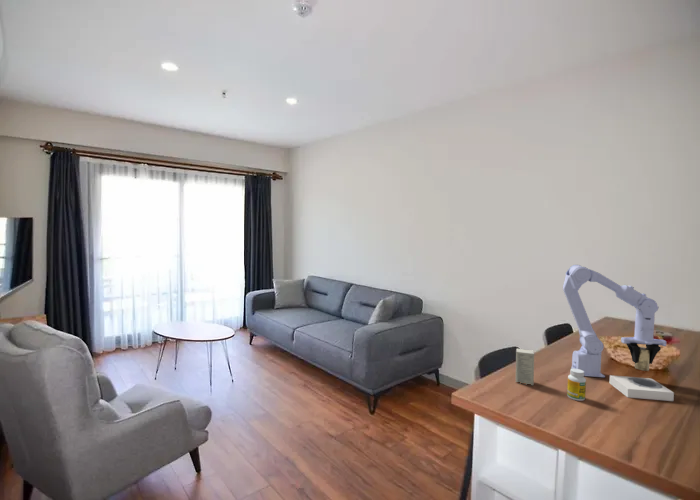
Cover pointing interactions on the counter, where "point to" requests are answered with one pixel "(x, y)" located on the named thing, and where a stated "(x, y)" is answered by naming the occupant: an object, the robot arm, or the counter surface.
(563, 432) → the counter surface
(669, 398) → the plate
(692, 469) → the counter surface
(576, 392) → the supplement bottle
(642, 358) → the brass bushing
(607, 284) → the robot arm
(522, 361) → the skincare box
